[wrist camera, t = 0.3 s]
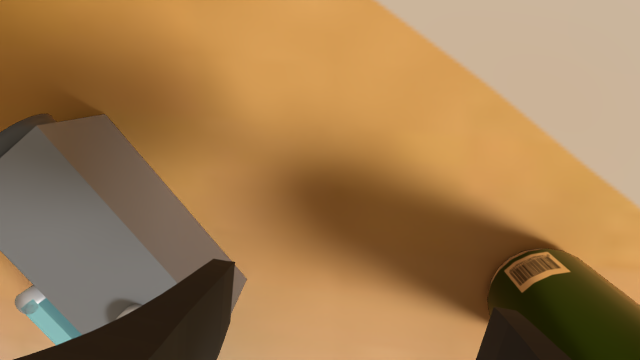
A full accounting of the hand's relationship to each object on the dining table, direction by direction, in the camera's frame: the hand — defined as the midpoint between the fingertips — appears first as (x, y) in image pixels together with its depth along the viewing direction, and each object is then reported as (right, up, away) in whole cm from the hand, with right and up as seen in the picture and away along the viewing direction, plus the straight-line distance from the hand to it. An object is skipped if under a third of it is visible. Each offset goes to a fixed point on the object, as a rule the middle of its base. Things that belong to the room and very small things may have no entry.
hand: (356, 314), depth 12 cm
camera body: (-11, +2, +11) cm, 15 cm away
